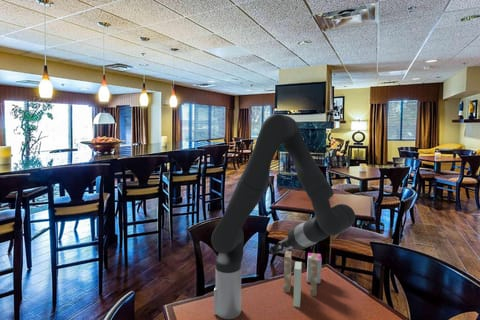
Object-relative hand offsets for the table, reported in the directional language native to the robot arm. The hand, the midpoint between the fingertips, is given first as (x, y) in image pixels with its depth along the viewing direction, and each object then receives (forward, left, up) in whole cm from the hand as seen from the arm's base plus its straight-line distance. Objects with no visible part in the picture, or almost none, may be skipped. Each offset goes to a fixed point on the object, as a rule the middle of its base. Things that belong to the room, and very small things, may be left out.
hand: (280, 247), depth 111 cm
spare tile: (+6, +4, -23) cm, 24 cm away
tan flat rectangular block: (+2, +13, -23) cm, 27 cm away
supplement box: (+12, +22, -23) cm, 35 cm away
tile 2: (+12, +13, -23) cm, 29 cm away
